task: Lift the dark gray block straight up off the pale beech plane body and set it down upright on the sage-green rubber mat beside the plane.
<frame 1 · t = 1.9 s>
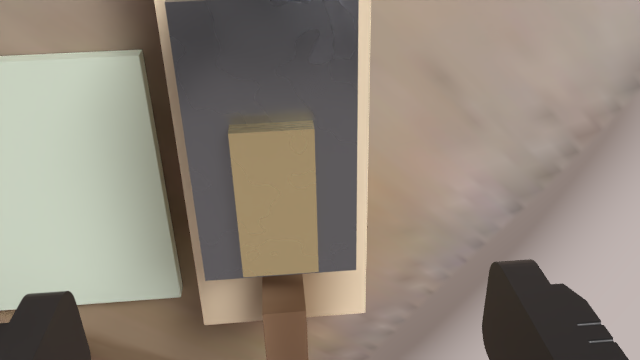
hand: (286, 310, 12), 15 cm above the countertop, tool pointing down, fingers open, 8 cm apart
dark gray block: (271, 103, 21), point 4 cm above the countertop, touching plane body
plane body: (269, 67, 25), on the countertop
mat: (26, 189, 26), on the countertop
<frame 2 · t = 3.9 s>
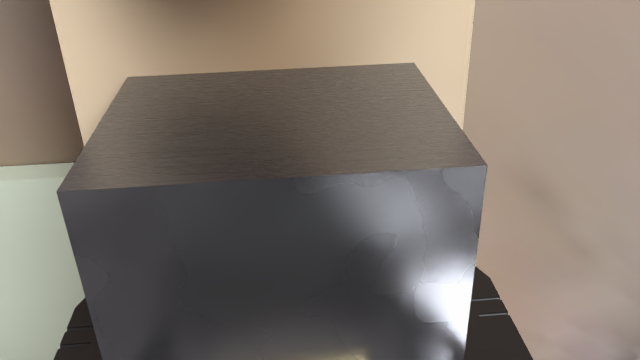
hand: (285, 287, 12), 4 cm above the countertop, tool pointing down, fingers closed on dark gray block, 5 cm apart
dark gray block: (286, 275, 13), point 4 cm above the countertop, touching gripper, plane body
plane body: (281, 183, 16), on the countertop
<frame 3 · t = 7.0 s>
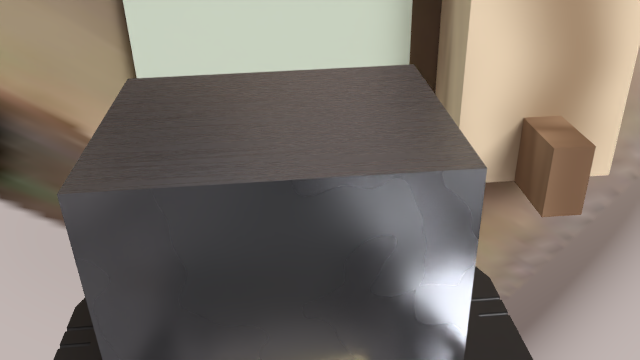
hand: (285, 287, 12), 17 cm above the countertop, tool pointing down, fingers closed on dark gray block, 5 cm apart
dark gray block: (286, 276, 13), point 16 cm above the countertop, touching gripper
mat: (273, 54, 27), on the countertop
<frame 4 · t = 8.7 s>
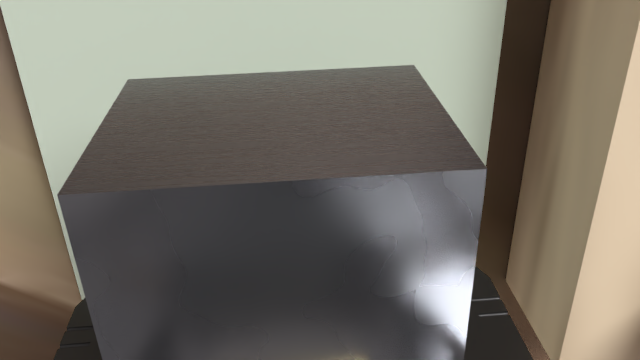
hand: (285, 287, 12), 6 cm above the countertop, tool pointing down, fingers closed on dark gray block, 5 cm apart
dark gray block: (286, 277, 13), point 5 cm above the countertop, touching gripper
mat: (273, 160, 17), on the countertop
when the fingers open (3 cm above the countertop, at t = 10.3 s): dark gray block drops 1 cm, resting on mat.
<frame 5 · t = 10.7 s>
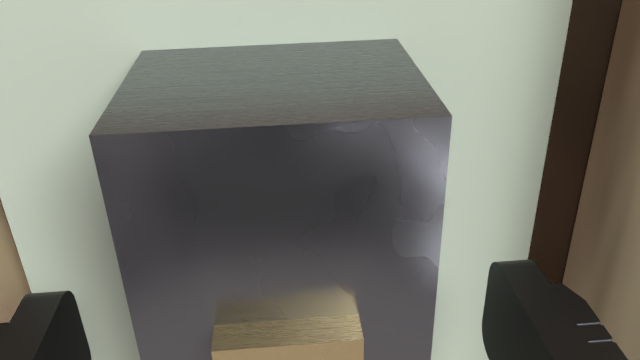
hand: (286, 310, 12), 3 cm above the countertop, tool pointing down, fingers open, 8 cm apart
dark gray block: (283, 235, 14), point 1 cm above the countertop, touching mat
mat: (282, 217, 15), on the countertop
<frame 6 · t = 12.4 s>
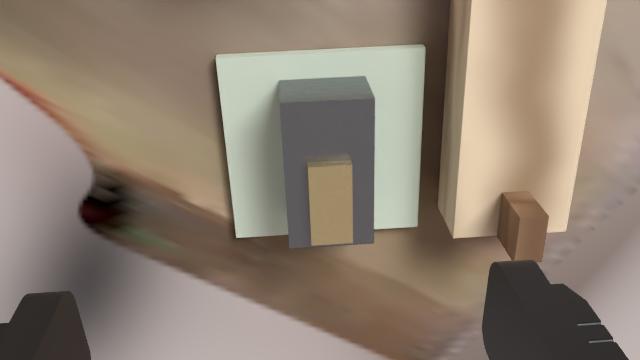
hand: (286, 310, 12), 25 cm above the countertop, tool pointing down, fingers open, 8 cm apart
dark gray block: (324, 148, 37), point 1 cm above the countertop, touching mat
plane body: (504, 56, 36), on the countertop
mat: (323, 144, 37), on the countertop
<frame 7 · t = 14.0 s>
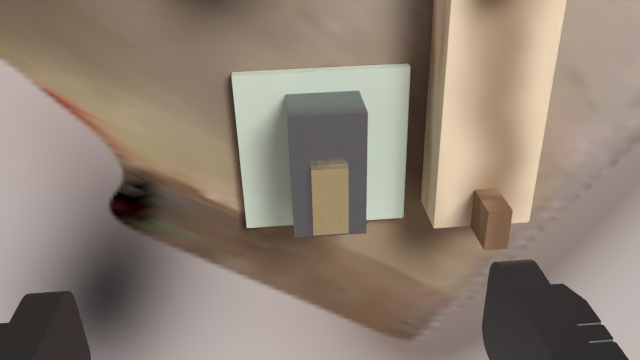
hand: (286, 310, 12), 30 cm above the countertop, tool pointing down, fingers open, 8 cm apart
dark gray block: (324, 151, 43), point 1 cm above the countertop, touching mat
plane body: (478, 73, 42), on the countertop
mat: (322, 147, 43), on the countertop
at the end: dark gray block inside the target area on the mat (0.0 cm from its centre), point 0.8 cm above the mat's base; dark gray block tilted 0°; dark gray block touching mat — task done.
